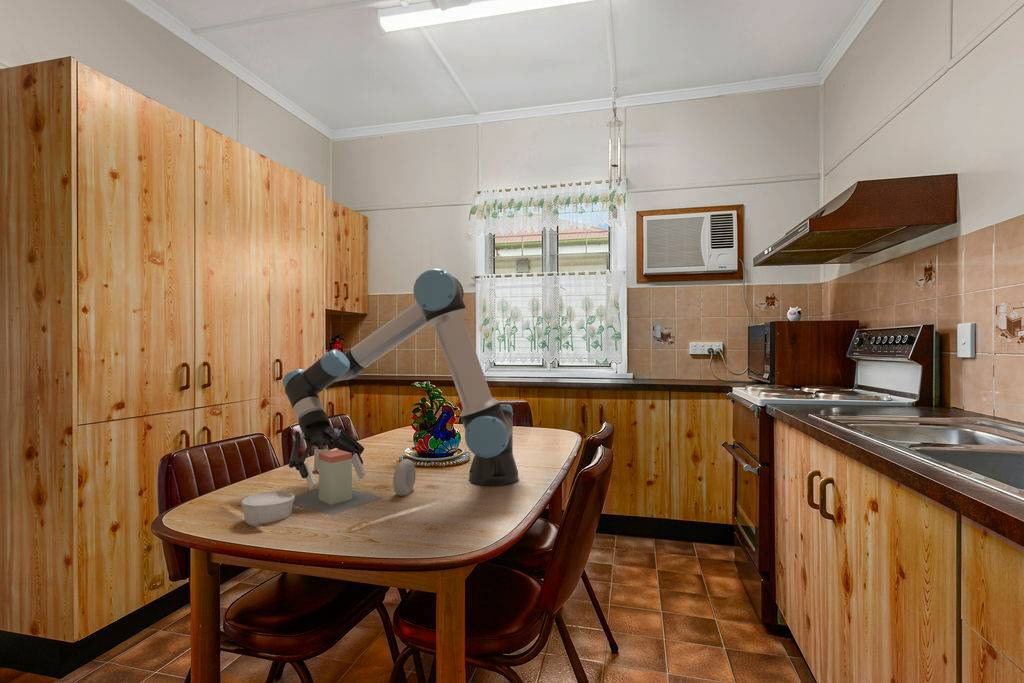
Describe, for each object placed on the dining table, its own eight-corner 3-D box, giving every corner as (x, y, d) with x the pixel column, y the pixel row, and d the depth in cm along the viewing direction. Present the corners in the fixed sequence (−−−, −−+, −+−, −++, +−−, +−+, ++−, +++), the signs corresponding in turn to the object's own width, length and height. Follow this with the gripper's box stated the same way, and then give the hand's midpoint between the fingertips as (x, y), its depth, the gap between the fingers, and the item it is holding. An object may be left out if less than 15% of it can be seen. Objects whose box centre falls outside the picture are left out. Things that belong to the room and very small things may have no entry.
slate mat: (382, 500, 131) (382, 497, 131) (332, 519, 117) (332, 514, 117) (333, 488, 142) (333, 485, 142) (281, 504, 128) (281, 500, 128)
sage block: (318, 499, 129) (318, 453, 129) (340, 494, 133) (340, 449, 133) (330, 504, 125) (330, 457, 125) (351, 499, 129) (351, 453, 129)
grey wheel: (402, 502, 130) (402, 464, 130) (390, 501, 130) (390, 463, 130) (417, 491, 140) (417, 455, 140) (406, 490, 140) (406, 455, 140)
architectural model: (318, 469, 165) (318, 447, 165) (338, 470, 164) (338, 448, 164) (313, 472, 161) (313, 449, 161) (333, 473, 161) (333, 450, 161)
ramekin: (305, 516, 120) (305, 494, 120) (265, 532, 110) (265, 508, 110) (271, 509, 124) (272, 488, 124) (230, 524, 114) (230, 501, 114)
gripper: (347, 420, 149) (375, 480, 139) (261, 431, 130) (285, 501, 120) (357, 404, 145) (386, 464, 135) (269, 413, 127) (295, 483, 117)
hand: (339, 481), depth 128 cm, fingers open, 13 cm apart
